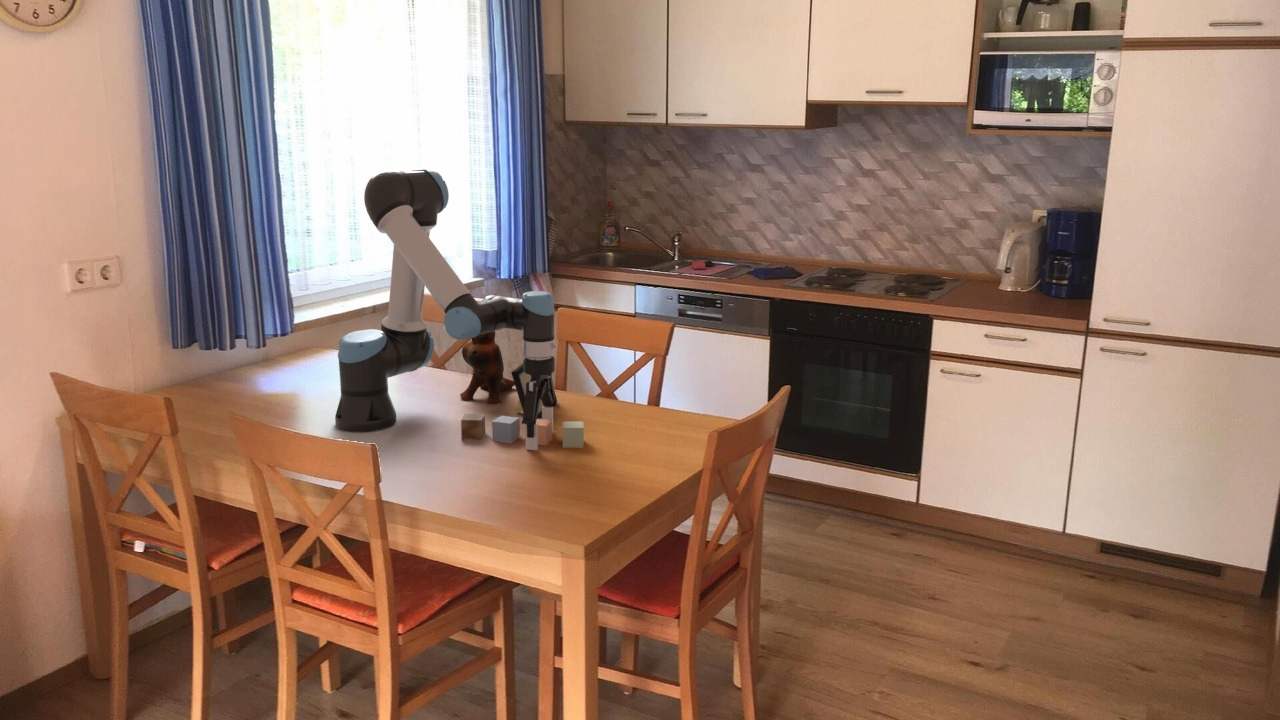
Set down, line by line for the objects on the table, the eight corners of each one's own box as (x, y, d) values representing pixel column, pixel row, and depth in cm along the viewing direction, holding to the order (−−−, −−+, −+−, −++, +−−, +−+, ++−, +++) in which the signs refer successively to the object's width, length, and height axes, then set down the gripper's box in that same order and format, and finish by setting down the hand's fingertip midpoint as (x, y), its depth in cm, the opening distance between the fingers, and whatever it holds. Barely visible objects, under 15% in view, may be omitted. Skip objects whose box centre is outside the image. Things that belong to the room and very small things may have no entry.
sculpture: (440, 396, 281) (437, 291, 274) (485, 382, 296) (483, 282, 289) (490, 407, 271) (487, 298, 264) (533, 392, 286) (532, 289, 279)
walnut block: (461, 439, 245) (461, 419, 244) (465, 432, 250) (464, 413, 249) (481, 439, 245) (481, 420, 244) (485, 433, 250) (484, 414, 249)
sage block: (562, 447, 241) (562, 427, 239) (562, 440, 245) (562, 421, 244) (583, 447, 241) (583, 427, 240) (583, 440, 246) (583, 421, 244)
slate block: (492, 440, 245) (492, 421, 243) (501, 434, 249) (501, 415, 248) (511, 443, 243) (510, 423, 242) (519, 437, 248) (519, 417, 246)
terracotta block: (526, 444, 243) (526, 424, 241) (532, 437, 247) (532, 418, 246) (546, 445, 242) (546, 425, 241) (552, 439, 247) (552, 419, 245)
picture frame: (532, 427, 254) (525, 370, 251) (499, 428, 256) (491, 372, 253) (557, 402, 276) (551, 350, 273) (527, 403, 278) (520, 351, 275)
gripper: (539, 369, 227) (540, 458, 232) (567, 345, 251) (568, 426, 256) (507, 368, 228) (509, 456, 233) (538, 344, 252) (539, 424, 257)
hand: (540, 440), depth 244 cm, fingers open, 13 cm apart
